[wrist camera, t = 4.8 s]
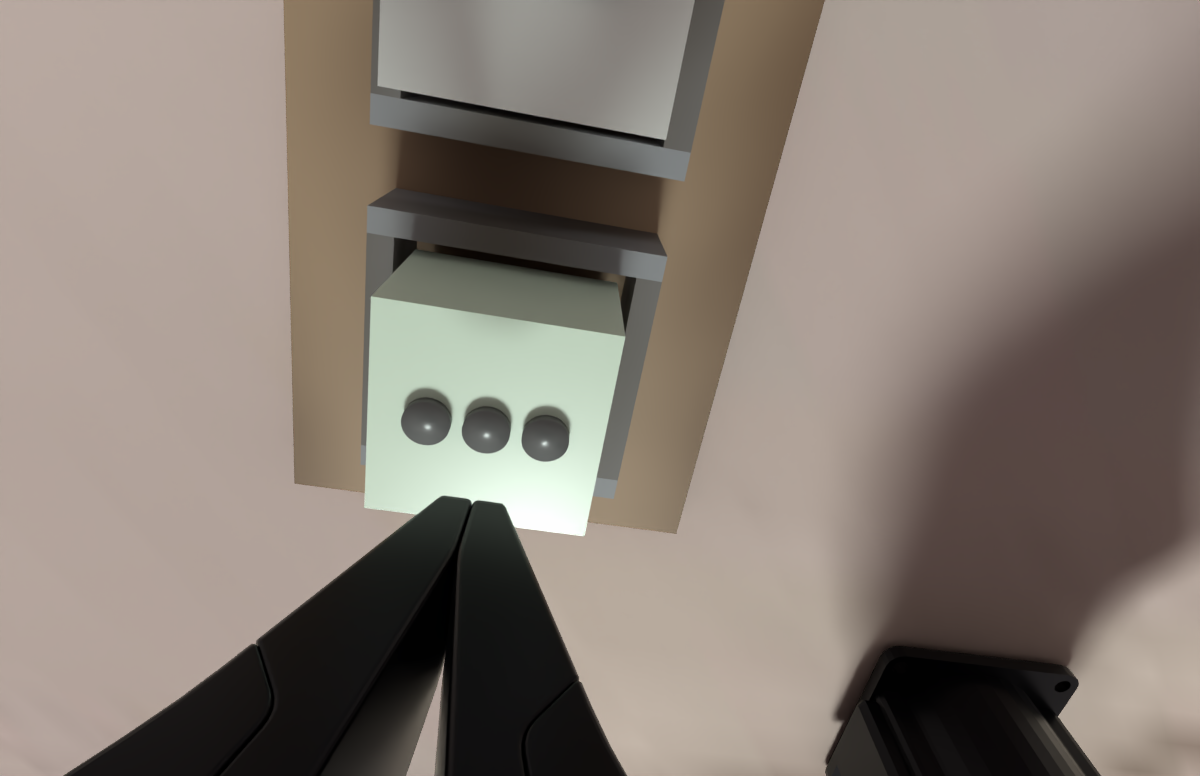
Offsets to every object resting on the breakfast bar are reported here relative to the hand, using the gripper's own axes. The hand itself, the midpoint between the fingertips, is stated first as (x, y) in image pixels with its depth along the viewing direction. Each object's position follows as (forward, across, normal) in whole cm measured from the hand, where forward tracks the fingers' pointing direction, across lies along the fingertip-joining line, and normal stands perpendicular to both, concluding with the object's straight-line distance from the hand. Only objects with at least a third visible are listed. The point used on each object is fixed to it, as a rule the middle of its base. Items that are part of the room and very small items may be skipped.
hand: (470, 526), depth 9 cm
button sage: (+6, 0, 0) cm, 6 cm away
